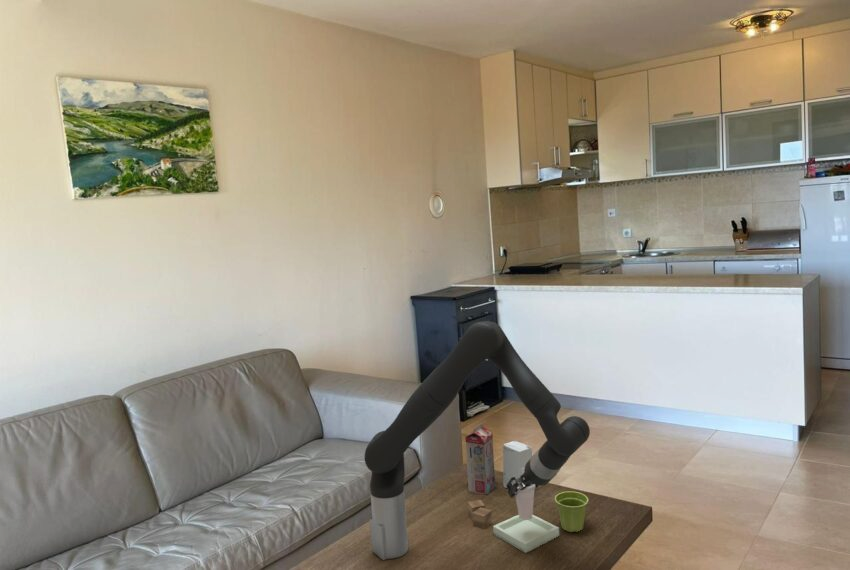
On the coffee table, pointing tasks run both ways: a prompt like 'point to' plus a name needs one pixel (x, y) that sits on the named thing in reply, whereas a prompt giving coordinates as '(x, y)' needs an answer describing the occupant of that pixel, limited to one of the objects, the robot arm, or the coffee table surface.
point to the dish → (526, 532)
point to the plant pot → (571, 510)
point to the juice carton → (480, 460)
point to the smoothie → (525, 502)
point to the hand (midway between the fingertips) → (521, 491)
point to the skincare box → (514, 460)
